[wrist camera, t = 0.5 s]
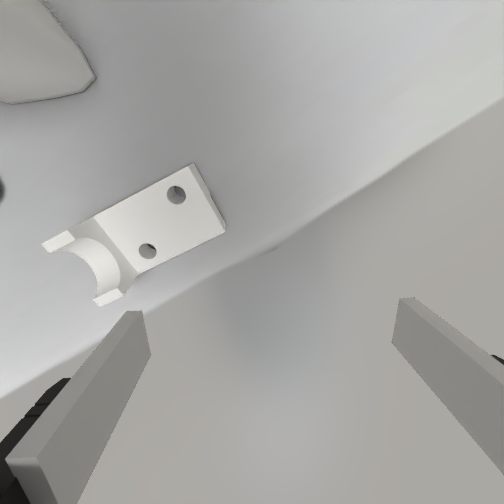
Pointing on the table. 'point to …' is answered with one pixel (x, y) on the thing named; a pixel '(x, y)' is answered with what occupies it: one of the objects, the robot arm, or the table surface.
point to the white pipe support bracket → (143, 232)
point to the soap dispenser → (38, 55)
